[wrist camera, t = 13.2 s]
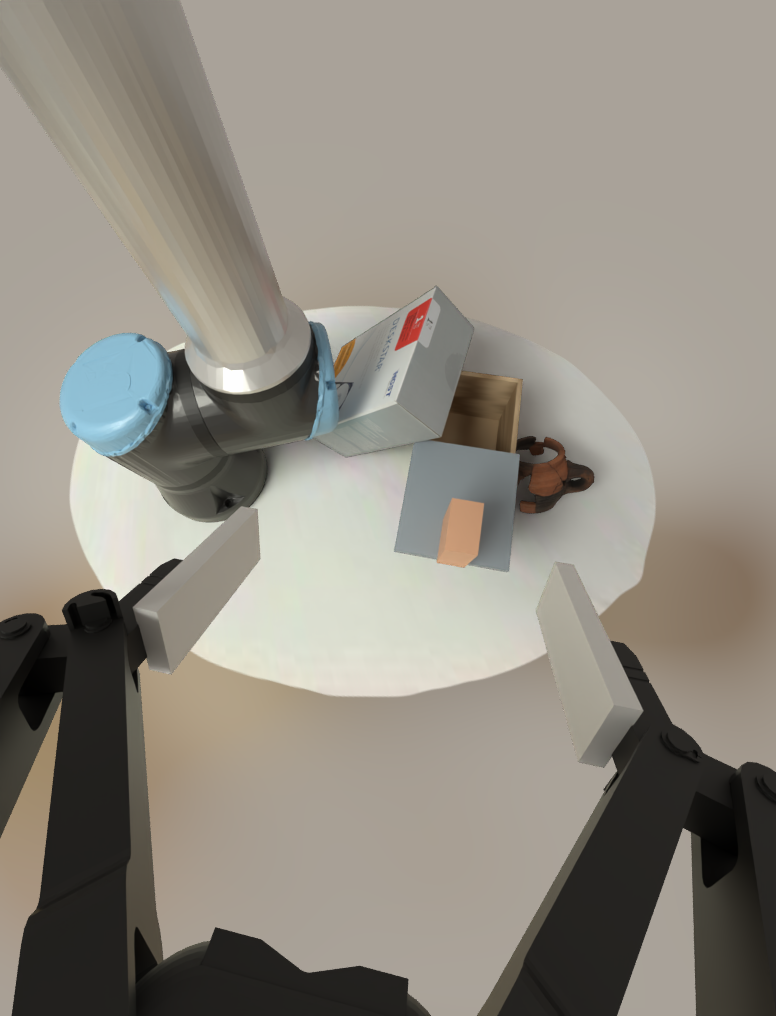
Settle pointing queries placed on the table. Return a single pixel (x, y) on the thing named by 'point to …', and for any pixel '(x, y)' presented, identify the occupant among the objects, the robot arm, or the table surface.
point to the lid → (459, 505)
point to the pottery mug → (550, 475)
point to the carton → (484, 412)
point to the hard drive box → (400, 377)
